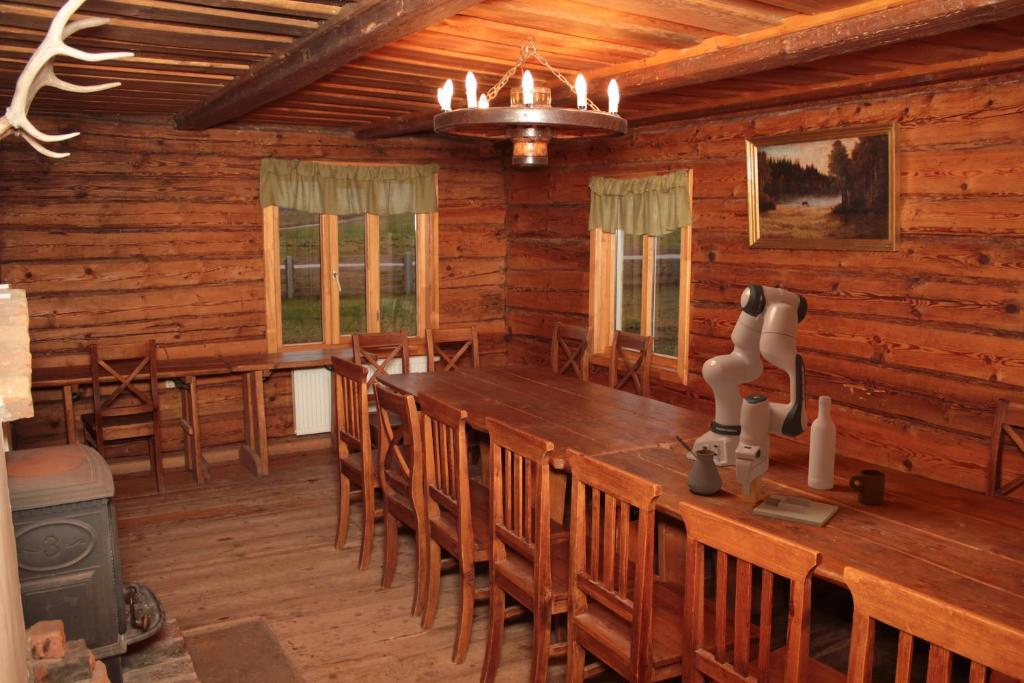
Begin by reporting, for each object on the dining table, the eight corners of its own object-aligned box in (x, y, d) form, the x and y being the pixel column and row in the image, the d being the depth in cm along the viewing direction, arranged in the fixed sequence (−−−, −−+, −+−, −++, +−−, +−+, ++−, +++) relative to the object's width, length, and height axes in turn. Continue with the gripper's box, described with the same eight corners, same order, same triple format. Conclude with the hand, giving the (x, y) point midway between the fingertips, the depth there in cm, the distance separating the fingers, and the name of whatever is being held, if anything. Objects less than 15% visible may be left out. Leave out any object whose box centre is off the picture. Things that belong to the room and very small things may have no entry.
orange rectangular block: (741, 500, 280) (742, 476, 279) (746, 497, 284) (747, 472, 283) (755, 503, 278) (756, 478, 276) (760, 499, 281) (761, 475, 280)
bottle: (834, 490, 290) (839, 399, 286) (809, 489, 292) (814, 398, 288) (831, 483, 298) (836, 394, 294) (806, 482, 300) (810, 393, 295)
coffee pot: (729, 493, 287) (731, 447, 285) (701, 498, 282) (703, 452, 280) (687, 476, 306) (688, 433, 304) (660, 480, 301) (661, 437, 299)
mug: (856, 508, 273) (858, 478, 272) (840, 500, 280) (842, 471, 279) (889, 504, 277) (891, 474, 276) (872, 497, 284) (874, 468, 283)
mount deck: (753, 513, 268) (753, 503, 268) (772, 498, 283) (773, 488, 282) (821, 526, 257) (821, 516, 256) (837, 509, 272) (838, 499, 271)
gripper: (755, 438, 288) (753, 480, 290) (732, 452, 272) (731, 497, 273) (774, 441, 285) (773, 483, 287) (753, 455, 268) (751, 500, 270)
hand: (752, 490), depth 280 cm, fingers open, 8 cm apart
